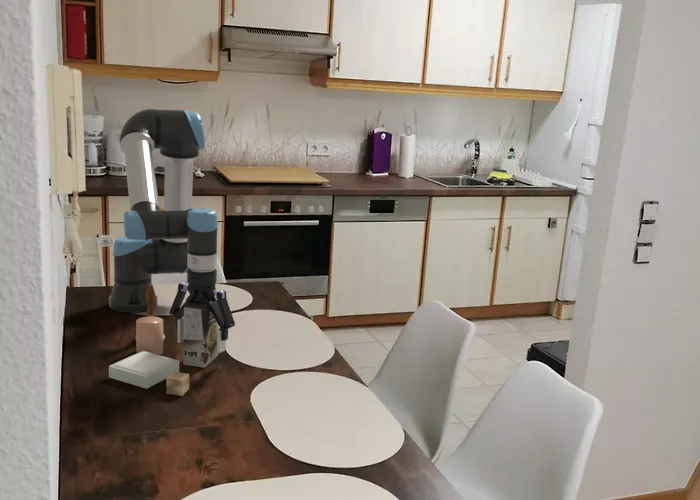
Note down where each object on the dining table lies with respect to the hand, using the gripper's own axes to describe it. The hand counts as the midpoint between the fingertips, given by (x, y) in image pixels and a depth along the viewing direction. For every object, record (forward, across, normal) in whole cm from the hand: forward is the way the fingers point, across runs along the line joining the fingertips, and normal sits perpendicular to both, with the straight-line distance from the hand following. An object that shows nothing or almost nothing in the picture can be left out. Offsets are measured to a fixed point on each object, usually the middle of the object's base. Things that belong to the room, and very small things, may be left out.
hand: (201, 346), depth 178 cm
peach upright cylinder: (+4, -15, -3) cm, 16 cm away
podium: (+4, -6, -15) cm, 17 cm away
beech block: (+4, +7, -18) cm, 20 cm away
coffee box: (+4, 0, 0) cm, 4 cm away
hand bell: (+4, -22, +5) cm, 23 cm away
